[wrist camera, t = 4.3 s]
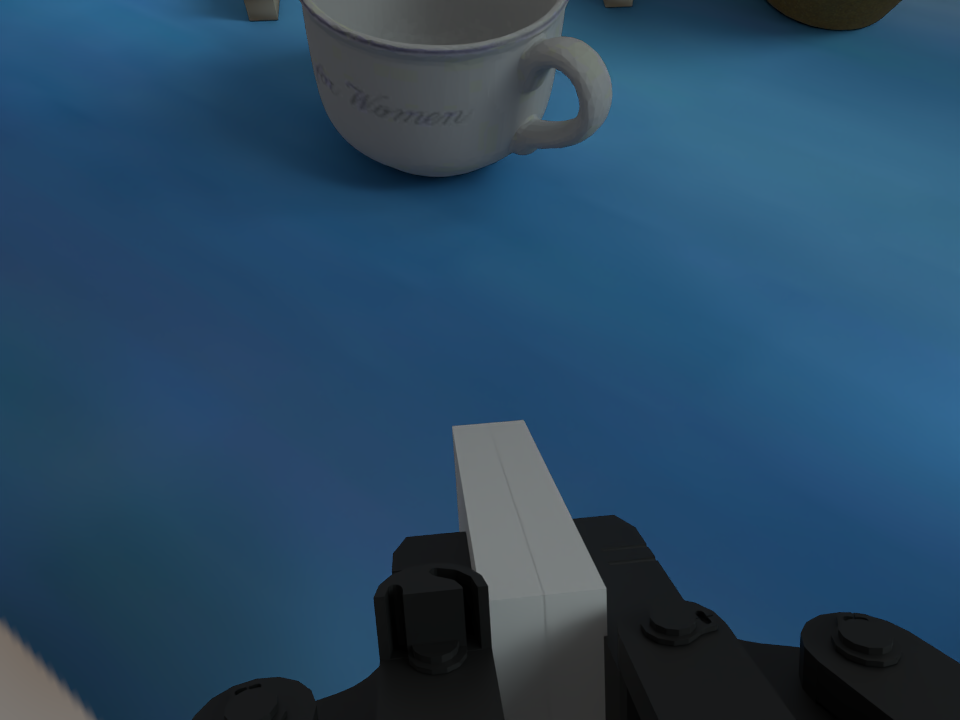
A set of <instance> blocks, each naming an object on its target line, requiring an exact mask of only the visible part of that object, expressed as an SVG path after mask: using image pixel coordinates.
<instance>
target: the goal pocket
mask: <svg viewBox="0 0 960 720" xmlns="http://www.w3.org/2000/svg"><path fill="white" fill-rule="evenodd" d="M279 1H280V0H244V2H245V6H246V9H247V13H248V17H249V20H250V21H259V20H278V13H279ZM603 1H604V4H605V7H626V6H632V3H633V0H603Z"/></svg>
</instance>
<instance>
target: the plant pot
mask: <svg viewBox="0 0 960 720" xmlns="http://www.w3.org/2000/svg"><path fill="white" fill-rule="evenodd" d="M767 1H768V2H769V3H770V4H771V5H772V6H773V7H774V8H776V9H777V10H778V11H780V12H781V13H783V14H785V15H786V16H788V17H790V18H792V19H794V20H797V21H799V22H802V23H804V24H807V25H811V26H815V27H820V28H825V29H831V30H852V29H859V28H863V27H866V26H869V25H871V24H873V23H875V22H877V21H879V20H880V19H881V18H883V17H884V16H885V15H886V14H887V13H888V12H889V11H890V10H892V9H893V8H894V7H895V6H896V5H897V4H898V3H899V2H901V1H902V0H767Z"/></svg>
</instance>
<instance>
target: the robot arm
mask: <svg viewBox="0 0 960 720" xmlns="http://www.w3.org/2000/svg"><path fill="white" fill-rule="evenodd" d="M452 431H453V445H454V459H455V473H456V487H457V502H458V516H459V530H460V532H454V533H444V534H434V535H423V536H413V537H406V538H405V539H404V541H403V542H402V543H401V544H400V546H399V547H398V548H397V549H396V551H395V552H394V553H393V563H392V575H391V576H390V577H389V578H387V579H386V580H385V581H384V582H383V583H381V584H380V585H379V587H378V589H377V591H376V593H375V596H374V607H375V616H376V626H377V636H378V645H379V655H380V666H379V667H378V668H377V669H376V670H375V671H374V672H373V673H372V674H371V675H370V676H369V677H368V678H366V679H365V680H363V681H362V682H360V683H358V684H357V685H355V686H354V687H351V688H349V689H347V690H344V691H342V692H340V693H337V694H335V695H332V696H329V697H326V698H323V699H320V700H317V701H315V699H314V696H313V694H312V691H311V690H310V689H309V688H307V687H306V686H304V685H303V684H302V683H300V682H299V681H296V680H291V679H286V678H281V677H273V678H261V679H255V680H251V681H248V682H245V683H242V684H239V685H236V686H233V687H231V688H229V689H228V690H226V691H224V692H223V693H221V694H219V695H217V696H216V697H214V698H212V699H211V700H210V701H209V702H208V703H207V704H206V705H205V706H204V707H203V708H202V709H201V710H200V711H199V712H198V713H197V714H196V715H195V716H194V718H193V719H192V720H960V663H958V662H957V661H955V660H953V659H952V658H950V657H949V656H947V655H945V654H944V653H942V652H941V651H939V650H938V649H936V648H934V647H933V646H931V645H930V644H928V643H926V642H925V641H923V640H922V639H920V638H918V637H917V636H915V635H914V634H912V633H910V632H909V631H907V630H905V629H903V628H901V627H899V626H896V625H894V624H892V623H890V622H888V621H885V620H882V619H878V618H875V617H871V616H868V615H866V614H860V613H851V612H838V613H830V614H823V615H819V616H817V617H815V618H813V619H811V620H809V621H808V622H806V624H805V626H804V628H803V630H802V632H801V637H800V647H791V646H781V645H771V644H761V643H755V642H749V641H743V640H739V639H737V638H736V636H735V635H734V634H733V632H732V631H731V629H730V628H729V627H728V625H727V624H726V623H725V622H724V621H723V620H722V619H721V618H720V617H719V616H718V615H717V614H716V613H715V612H713V611H712V610H709V609H707V608H705V607H703V606H701V605H699V604H697V603H694V602H689V601H685V600H684V599H683V598H682V596H681V595H680V593H679V592H678V591H677V589H676V588H675V586H674V585H673V583H672V582H671V580H670V579H669V577H668V576H667V574H666V573H665V571H664V570H663V568H662V567H661V565H660V564H659V562H658V561H656V560H655V556H654V555H653V553H652V552H651V550H650V549H649V547H647V546H646V543H645V541H644V540H643V538H642V537H641V535H640V534H639V532H638V531H637V529H636V528H635V527H634V526H632V525H630V524H629V523H627V522H625V521H624V520H622V519H620V518H619V517H617V516H615V515H609V516H598V517H588V518H577V519H572V517H571V515H570V513H569V511H568V509H567V507H566V505H565V503H564V501H563V499H562V497H561V495H560V493H559V491H558V489H557V487H556V485H555V483H554V481H553V479H552V477H551V475H550V473H549V471H548V469H547V467H546V464H545V462H544V460H543V458H542V456H541V454H540V452H539V450H538V448H537V446H536V444H535V442H534V440H533V438H532V436H531V434H530V432H529V430H528V428H527V426H526V424H525V422H524V420H519V421H508V422H496V423H484V424H472V425H460V426H452Z"/></svg>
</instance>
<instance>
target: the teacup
mask: <svg viewBox="0 0 960 720" xmlns="http://www.w3.org/2000/svg"><path fill="white" fill-rule="evenodd" d="M568 1H569V0H300V2H301V4H302V9H303V15H304V21H305V28H306V34H307V39H308V45H309V50H310V55H311V60H312V65H313V70H314V74H315V78H316V83H317V87H318V91H319V94H320V97H321V100H322V103H323V106H324V108H325V111H326V113H327V115H328V117H329V118H330V120H331V122H332V124H333V125H334V127H335V128H336V129H337V131H338V132H339V133H340V134H341V135H342V137H343V138H344V139H345V140H346V141H347V142H348V143H349V144H351V145H352V146H353V147H354V148H355V149H357V150H358V151H360V152H361V153H363V154H364V155H366V156H368V157H369V158H371V159H373V160H375V161H377V162H379V163H382V164H384V165H387V166H390V167H393V168H395V169H398V170H400V171H403V172H407V173H410V174H415V175H421V176H429V177H447V176H454V175H460V174H464V173H468V172H471V171H474V170H477V169H480V168H482V167H485V166H487V165H490V164H492V163H495V162H497V161H499V160H501V159H502V158H504V157H506V156H508V155H509V154H511V153H516V154H518V155H527V154H531V153H532V152H534V151H535V150H537V149H549V148H563V147H567V146H572V145H575V144H577V143H580V142H582V141H584V140H585V139H587V138H588V137H590V136H591V135H593V134H594V133H595V132H596V131H597V129H598V128H599V127H600V126H601V125H602V124H603V122H604V121H605V119H606V117H607V115H608V112H609V110H610V106H611V101H612V84H611V79H610V76H609V73H608V70H607V68H606V65H605V64H604V62H603V60H602V59H601V57H600V56H599V54H598V53H597V52H596V51H595V50H593V49H592V48H591V47H590V46H589V45H587V44H586V43H584V42H583V41H581V40H578V39H575V38H572V37H563V36H562V37H561V34H562V27H563V20H564V13H565V7H566V6H567V3H568ZM556 69H557V70H559V71H561V72H562V73H564V74H565V75H566V76H567V77H568V78H569V79H570V80H571V82H572V83H573V85H574V86H575V89H576V92H577V95H578V98H579V105H580V108H579V112H578V115H577V117H576V118H574V119H571V120H567V121H545V120H541V119H542V117H543V115H544V112H545V110H546V107H547V104H548V101H549V97H550V94H551V90H552V85H553V80H554V75H555V71H556Z"/></svg>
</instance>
